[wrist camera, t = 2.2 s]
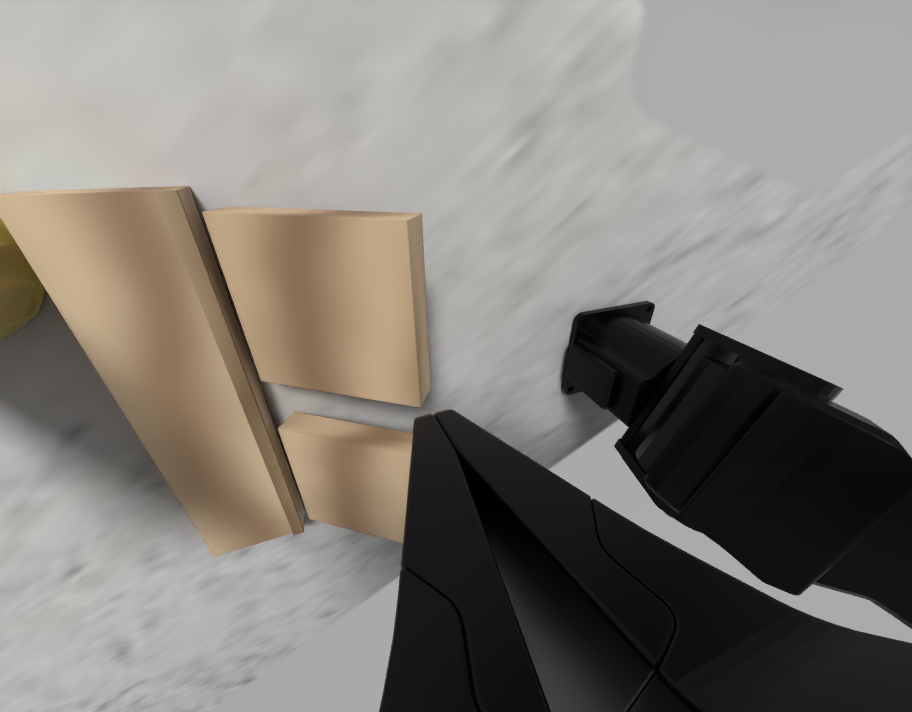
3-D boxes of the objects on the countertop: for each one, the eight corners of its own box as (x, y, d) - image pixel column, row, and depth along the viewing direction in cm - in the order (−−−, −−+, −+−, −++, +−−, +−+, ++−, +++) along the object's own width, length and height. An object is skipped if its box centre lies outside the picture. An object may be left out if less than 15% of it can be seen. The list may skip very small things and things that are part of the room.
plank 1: (421, 213, 12) (406, 220, 11) (430, 388, 16) (420, 407, 15) (231, 206, 14) (202, 211, 13) (280, 365, 18) (261, 380, 17)
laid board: (189, 186, 14) (176, 190, 12) (304, 509, 23) (304, 532, 22) (19, 192, 12) (-17, 197, 11) (218, 534, 22) (213, 560, 21)
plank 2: (433, 437, 18) (424, 457, 16) (438, 528, 21) (430, 550, 20) (294, 411, 19) (277, 428, 18) (322, 500, 23) (309, 518, 22)
